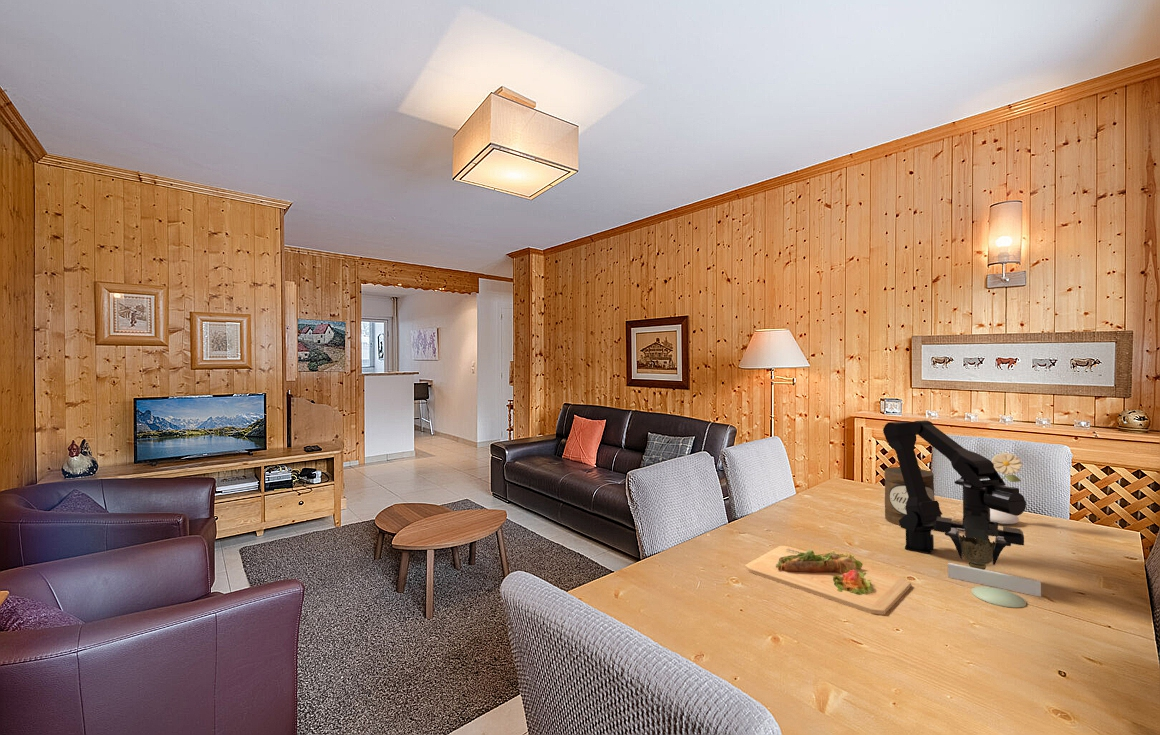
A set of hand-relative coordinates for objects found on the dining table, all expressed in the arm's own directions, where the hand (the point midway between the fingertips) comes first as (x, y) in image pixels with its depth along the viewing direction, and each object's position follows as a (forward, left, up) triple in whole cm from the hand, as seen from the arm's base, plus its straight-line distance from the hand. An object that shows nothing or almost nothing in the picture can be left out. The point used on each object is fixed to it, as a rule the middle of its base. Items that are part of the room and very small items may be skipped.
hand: (977, 561), depth 131 cm
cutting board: (-32, -27, -4) cm, 42 cm away
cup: (0, 0, -2) cm, 2 cm away
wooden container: (-19, +39, -4) cm, 44 cm away
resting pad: (+4, -14, -3) cm, 15 cm away
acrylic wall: (+3, -7, -3) cm, 8 cm away
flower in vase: (+6, +56, -3) cm, 56 cm away
